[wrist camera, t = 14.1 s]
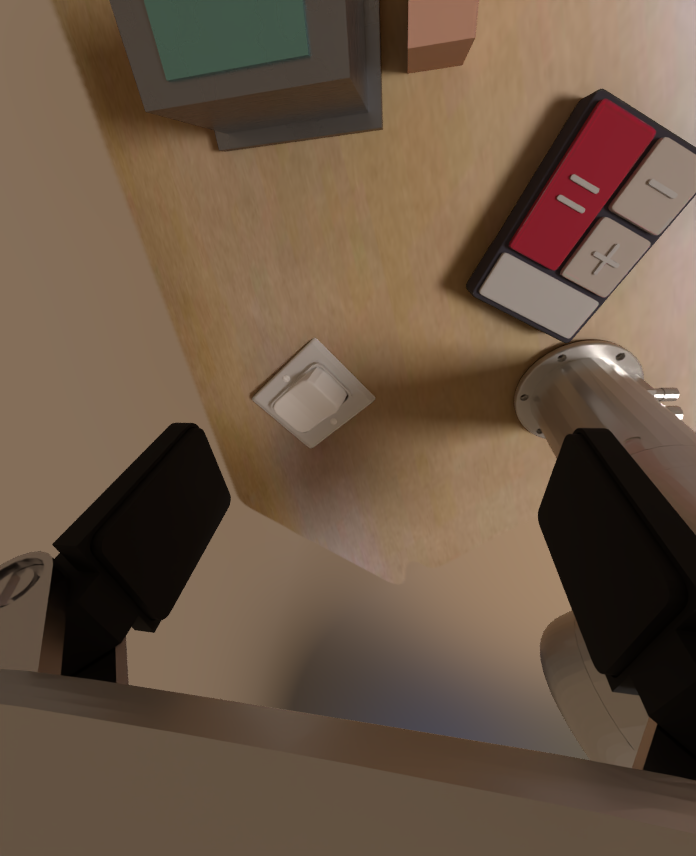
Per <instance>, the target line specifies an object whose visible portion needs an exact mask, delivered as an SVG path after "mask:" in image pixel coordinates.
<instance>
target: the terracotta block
mask: <svg viewBox="0 0 696 856" xmlns="http://www.w3.org/2000/svg"><path fill="white" fill-rule="evenodd" d="M478 4H479V0H409V1H408V73H415V72H421V71H428V70H434V69H441V68H447V67H454V66H460V65H463V63H464V60H465V58H466V56H467V54H468V52H469V50H470V48H471V46H472V44H473V42H474V39H475V37H476V26H477V15H478Z"/></svg>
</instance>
